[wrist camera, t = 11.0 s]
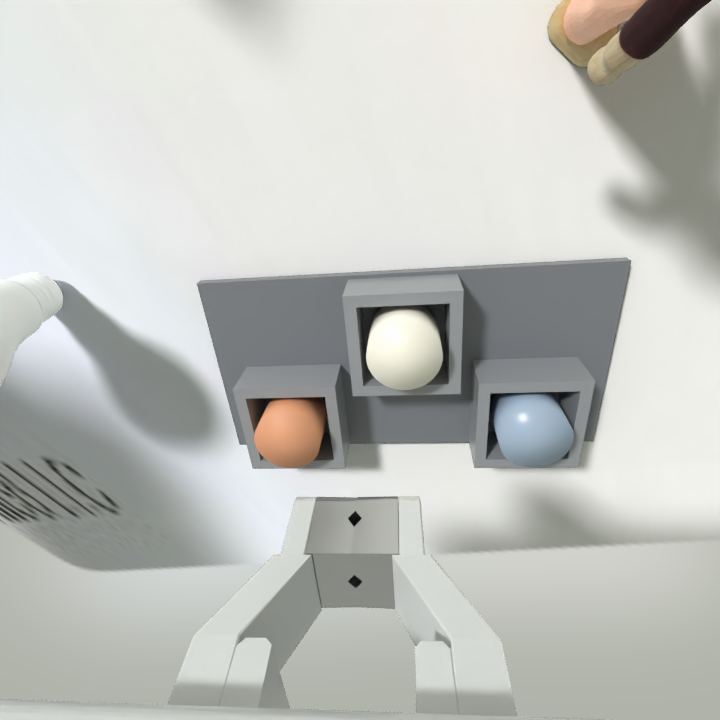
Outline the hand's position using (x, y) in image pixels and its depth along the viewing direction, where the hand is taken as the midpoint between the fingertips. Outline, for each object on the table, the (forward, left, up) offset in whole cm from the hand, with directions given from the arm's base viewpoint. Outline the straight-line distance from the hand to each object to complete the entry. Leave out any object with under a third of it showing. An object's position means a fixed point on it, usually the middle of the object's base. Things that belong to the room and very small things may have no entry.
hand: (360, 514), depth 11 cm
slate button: (+8, -7, -14) cm, 17 cm away
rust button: (-5, -7, -14) cm, 16 cm away
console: (+1, -4, -15) cm, 15 cm away
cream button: (+1, -2, -14) cm, 14 cm away
